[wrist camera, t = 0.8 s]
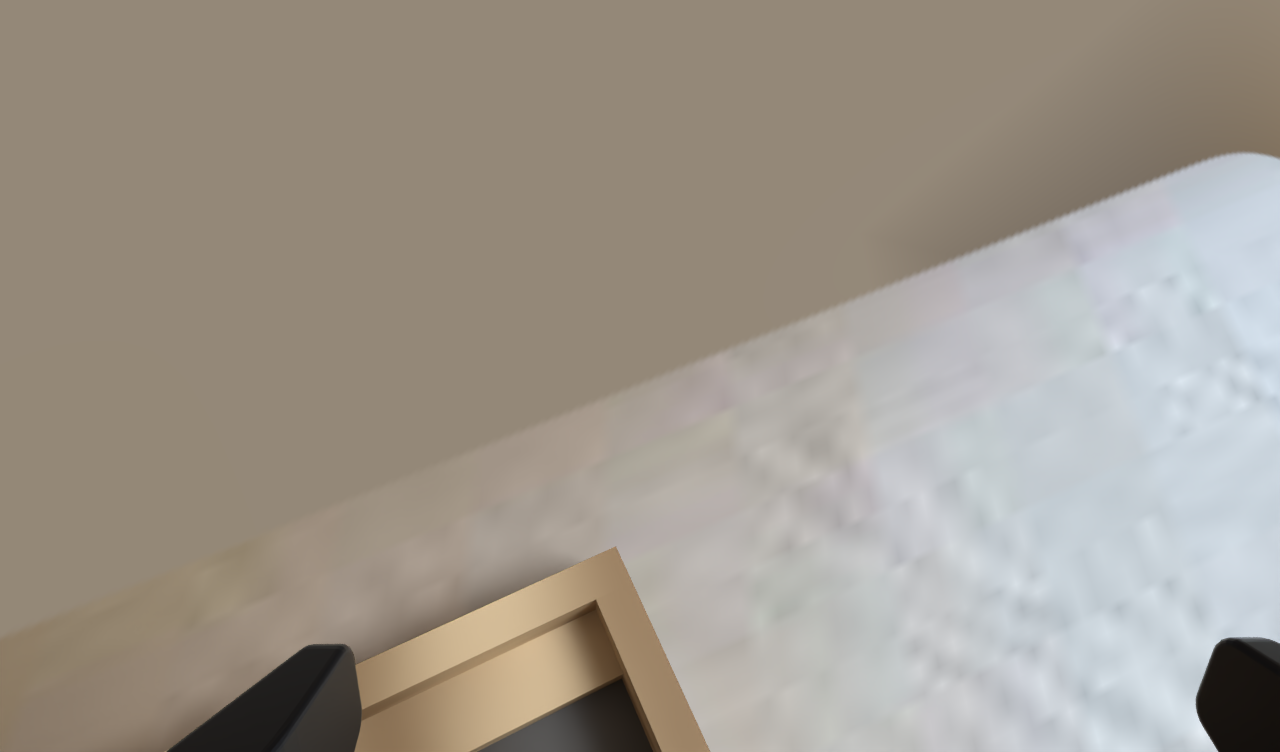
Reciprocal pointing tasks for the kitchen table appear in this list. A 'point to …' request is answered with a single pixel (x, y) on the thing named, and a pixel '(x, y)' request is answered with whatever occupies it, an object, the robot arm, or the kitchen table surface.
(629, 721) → the oak tray
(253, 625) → the kitchen table surface
